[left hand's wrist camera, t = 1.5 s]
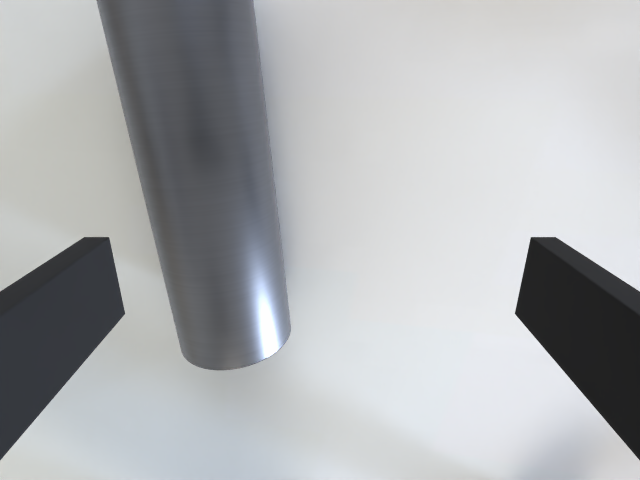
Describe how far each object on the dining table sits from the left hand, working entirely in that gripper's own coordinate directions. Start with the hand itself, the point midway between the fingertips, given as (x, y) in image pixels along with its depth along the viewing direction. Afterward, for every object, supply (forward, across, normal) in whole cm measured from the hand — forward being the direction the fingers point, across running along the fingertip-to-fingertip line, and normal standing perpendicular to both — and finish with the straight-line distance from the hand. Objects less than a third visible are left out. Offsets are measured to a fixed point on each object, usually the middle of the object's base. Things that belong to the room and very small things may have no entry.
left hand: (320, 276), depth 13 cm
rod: (+20, -8, -1) cm, 22 cm away
